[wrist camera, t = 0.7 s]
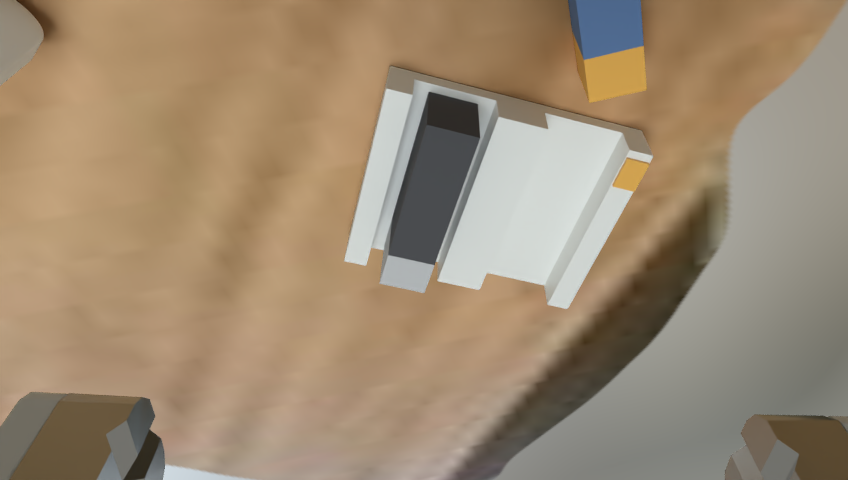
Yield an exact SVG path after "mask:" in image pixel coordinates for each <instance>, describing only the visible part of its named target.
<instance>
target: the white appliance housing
mask: <svg viewBox="0 0 848 480" xmlns="http://www.w3.org/2000/svg"><path fill="white" fill-rule="evenodd" d="M428 92H433V93H437V94H441V95H445V96H449V97H453V98H457V99H460V100H464V101H468V102H472V103H476V104H478V114H479V128H480V140H479V143H478V146H477V148H476V151H475V154H474V157H473V159H472V162H471V165H470V168H469V171H468V173H467V176H466V179H465V182H464V184H463V187H462V190H461V193H460V196H459V198H458V201H457V204H456V207H455V209H454V212H453V215H452V218H451V221H450V223H449V226H448V229H447V232H446V234H445V237H444V240H443V243H442V246H441V248H440V251H439V254H438V257H437V259H436V262H438V281H440V282H444V283H449V284H454V285H458V286H463V287H468V288H472V289H477V290H480V287H481V285H482V283H483V280H484V278H485V276H486V274H487V273H490V274H495V275H499V276H504V277H508V278H513V279H518V280H522V281H527V282H531V283H536V284H540V285H544V287H545V293H546V299H547V305H551V306H556V307H561V308H565V309H568V307H569V305H570V304H571V302H572V300H573V298H574V297H575V295H576V293H577V291H578V289H579V288H580V286H581V284H582V282H583V281H584V279H585V277H586V275H587V273H588V272H589V270H590V268H591V266H592V265H593V263H594V261H595V259H596V257H597V256H598V254H599V252H600V250H601V249H602V247H603V245H604V243H605V241H606V240H607V238H608V236H609V234H610V233H611V231H612V229H613V227H614V225H615V224H616V222H617V220H618V218H619V216H620V215H621V213H622V211H623V209H624V208H625V206H626V204H627V202H628V200H629V199H630V197H631V195H632V193H633V192H634V191H635V190H636V188H637V186H638V184H639V183H640V181H641V179H642V177H643V175H644V174H645V172H646V170H647V168H648V167H649V163H650V161H651V160H652V158H653V154H652V152H651V150H650V147H649V145H648V143H647V141H646V139H645V137H644V134H643V132H642V131H641V130H637V129H633V128H630V127H626V126H622V125H618V124H614V123H610V122H606V121H602V120H599V119H595V118H591V117H587V116H583V115H579V114H575V113H571V112H568V111H564V110H560V109H556V108H552V107H548V106H544V105H540V104H537V103H533V102H529V101H525V100H521V99H517V98H513V97H509V96H506V95H502V94H498V93H494V92H490V91H486V90H482V89H478V88H475V87H471V86H467V85H463V84H459V83H455V82H451V81H447V80H444V79H440V78H436V77H432V76H428V75H424V74H420V73H416V72H413V71H409V70H405V69H401V68H397V67H393V66H390V68H389V72H388V77H387V81H386V85H385V89H384V93H383V97H382V101H381V105H380V110H379V114H378V118H377V122H376V126H375V130H374V134H373V139H372V143H371V147H370V151H369V155H368V159H367V163H366V167H365V172H364V176H363V180H362V184H361V188H360V192H359V196H358V201H357V205H356V209H355V213H354V217H353V221H352V225H351V229H350V234H349V239H348V244H347V249H346V254H345V260H344V261H346V262H351V263H356V264H360V265H365V266H366V264H367V260H368V257H369V253H370V250H371V248H376V249H381V250H384V244H385V241H386V237H387V234H388V231H389V227H390V224H391V220H392V217H393V213H394V210H395V206H396V203H397V199H398V196H399V192H400V189H401V186H402V182H403V179H404V175H405V172H406V168H407V165H408V161H409V158H410V154H411V151H412V147H413V144H414V141H415V137H416V134H417V130H418V127H419V123H420V120H421V116H422V113H423V109H424V106H425V102H426V99H427V96H428Z"/></svg>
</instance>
